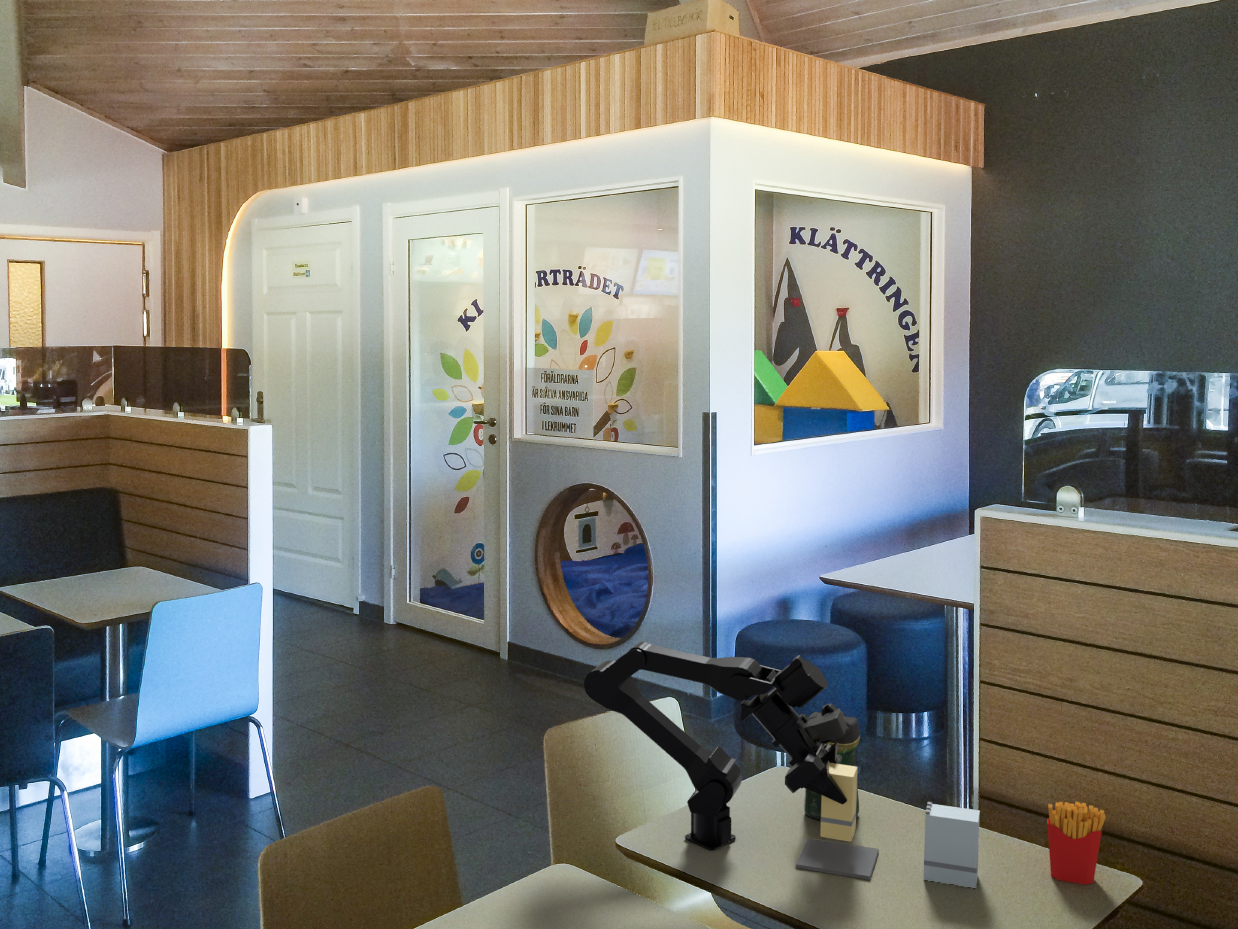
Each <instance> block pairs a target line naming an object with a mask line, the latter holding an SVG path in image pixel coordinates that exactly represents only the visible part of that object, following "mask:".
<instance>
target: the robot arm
mask: <svg viewBox="0 0 1238 929" xmlns="http://www.w3.org/2000/svg"><path fill="white" fill-rule="evenodd" d="M641 670H642V671H647V672H651V673H656V674H660V675H663V676H664V675H665V676H669V677H674V678H677V679H682V680H685V681H689V682H690V681H691V682H696V683H699V684H700V683H701V684H704V685H706V686H708V687H710V688H712V689H713V690H714V691H715V692H717V693H718V694H720V695H722V696H725V697H728V698H730V699H733V700H735V701H739V702H740V701H741V702H740V704H739V707H740V717H739V719H740V721H742V722H743V721H745V720H746V719H748V717H750V716H751V715H752V717H754V718H755V719H756V721H757V722H759V724H760V725H761V726H762V727H763V729H765V730H766V732H767V733H768V734H769V735H770V736H771V737H772V738H773V740H772V742H771V744H772V745H773V747H774V748H777V747H778V746H779V747H780V748H781V749H782V750H783V751H784V752H785V754H787V756H788V757H789V761H788V763H789V764H790V765H791V767H790V768H789V769H788V771H787V773H786V774H785V776H784V785H785V786H786V787H787V789H788V790H789V791H790V792H791V794H794V793H796V792H797V791H799V790H800V789H805V790H806V789H808V790H810V791H813V792H816V793H818V794H820V795H823V796H825V797H827V798H829V799H831V800H834V801H836V802H838V803H840V804H844V803H846V802H847V798H846V797H845V795H844V794H843V792H842V791H841V789H840V788H839V786H838V785H837V783H836V782H835V780H834V779H833V778H832V776H831V775H830V773H829V763H835V764H840V763H839V761H838V759H837V747H838V742H836V743H835V744H833V745H832V746H830V745H829V744H827V743H828V742H829V741H830V740H831V739H834V740H835V739H836V738H839V737H842V736H843V735H844V734H845V730H846V729H847V728H848V727H847V725H846V723H845V720H844V717H845V712H843V711H842V710H841V708H840V707H839V708H837V707H836V706H835V705H834V704H833V702H832V703H828V704H824V705H823V706H822V708H821V713H822V714H821V715H818V716H817V717H816V718H813V719H809V718H808V717H809V716H808V715H807V714H806V713H801V714H800V715H799V714H798V713H797V712H796V710H795V709H794V708H795V707H796V708H804V707H805V706H806V705H807V704H808V703H810V701H812V700H813V699H814V698H815V697H817V696H818V695H819V694H820V693H821V692H823V691H824V690H825V689H826V688H827V687H828V681H827V678H826V677H825V675H824V674H823V672H822V671H821V670H820V668H819V667H818V666H817V665H814V664H813V663H812V662H810V661H809V660H807V659H804V658H803V657H802V656H801V655H799V654H798V655H797V656H796V657H794V658H793V660H792V661H791V662H790V663H789V664H788V665H787V666H785V667H784V668H783V669H782V670H781V669H777V668H774V667H769V666H765V665H761V664H760V663H759V661H757V660H756V659H754V658H752V657H743V656H741V657H739V656H736V657H735V656H729V657H728V656H726V657H709V656H704V655H700V654H695V653H690V652H685V651H680V650H677V649H672V648H668V647H663V646H658V645H653V644H651V643H649V642H646V641H640V642H638V643H636V644H634V645H633V646H632V647H631V648H630V649H629V650H628V651H627V652H626V653H624V654H623V655H621V656H620V657H618V658H617V659H616V660H606V661H604V662H603V661H602V662H601V663H600V664H599V665H598V666H596V667H595V668H593V669H592V670H591V671H590V672H588V673H587V674H586V676H585V678H584V682H583V687H584V693H585V695H586V696H587V697H588V698H589V699H590V700H591V701H593V702H594V703H596V704H597V705H599V706H600V707H602V708H604V709H606V710H609V711H612V712H615V713H617V714H621V715H622V716H623V717H625V718H626V719H627V720H629V721H630V722H631V723H632V724H633V725H634V726H635V727H637V729H639V730H640V731H641V732H642V733H643V734H645V735H646V736H647V737H648V738H649V739H650V740H651V741H652V742H654V743H655V744H656V745H657V746H658V747H660V748H661V750H663V751H664V752H665V753H666V754H667V755H669V757H671V758H672V759H673V760H674V761H675V762H676V763H677V764H679V766H681V767H682V768H683V769H684V770H685V772H686V774H687V775H688V778H689V779H690V782H691V783H692V787H694V789H695V790H694V792H692V794H691V795H690V797H689V798H688V799H687V801H686V802H687V806H688V808H689V811H690V832H689V833H687V834H685V835H684V840H687V841H689V842H691V843H694V844H695V845H698V846H700V847H703V848H704V849H706V850H710V851H714V850H717V849H719V848H721V847H722V846H725V845H727V844H728V843H730V842H732V841H734V840H736V839H737V836H736V835H735V834H734V833H732V817H731V808H730V806H728V804H729V802H730V801H731V800H732V799H733V798H734V795H735V794H736V792H737V791H738V789H739V788H740V786H741V784H742V781H743V775H742V770H741V767H739V766H738V765H737V761H738V760H737V759H736V758H733V757H731V756H730V755H729V754H728V753H727V752H726V751H725V750H724V749H723V747H721V746H717V747H716V748H715V749H714V750H710V749H708V748H704V747H703V746H701V745H700V744H699V743H698V742H697V741H696V740H695V739H694V738H692V737H691V736H690V735H688V734H687V732H685V731H684V730H683V729H682V728H680V726H678V725H677V724H676V723H675V722H674V721H672V720H671V719H670V718H669V717H668V716H667V715H666V714H664V712H663V711H661V710H659V708H658V707H656V705H654V704H653V703H652V702H651V701H650V700H648V699H647V698H646V697H645V696H643V694H642V693H641V692H640V690H639V688H638V686H637V684H636V682H635V680H634V678H633V677H632V676H633V675H634V674H636V673H638V671H641ZM770 690H771V691H770ZM753 696H754V697H753ZM752 697H753V698H752ZM750 698H752V699H751V700H748V699H750ZM826 744H827V745H826Z"/></svg>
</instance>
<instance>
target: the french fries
mask: <svg viewBox="0 0 1238 929" xmlns="http://www.w3.org/2000/svg"><path fill="white" fill-rule="evenodd" d="M1074 802H1075V803H1069V802H1067V801H1058V802H1055V809H1053V804H1052V803H1048V804H1047V805H1048V806H1047V807H1048V815H1049V817H1048V818H1046V819H1047V821H1046V822H1047V824H1046V825H1047V841H1048V853H1049V867H1050V877H1052V878H1054V879H1055V880H1058V881H1061V882H1066V883H1067V882H1068V883H1073V884H1080V885H1091V884H1094V880H1095V874H1096V869H1097V863H1098V857H1099V852H1100V845H1101V838H1102V834H1103V831H1102V830H1103V829H1102V828H1103V825H1104V823H1105V820H1106V819H1107V818H1106V814H1105V810H1103V809H1100V810H1099V808H1098V807H1094V805H1090V804H1089V806H1087V803H1086V802H1082V803H1081V802H1079V801H1074Z"/></svg>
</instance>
